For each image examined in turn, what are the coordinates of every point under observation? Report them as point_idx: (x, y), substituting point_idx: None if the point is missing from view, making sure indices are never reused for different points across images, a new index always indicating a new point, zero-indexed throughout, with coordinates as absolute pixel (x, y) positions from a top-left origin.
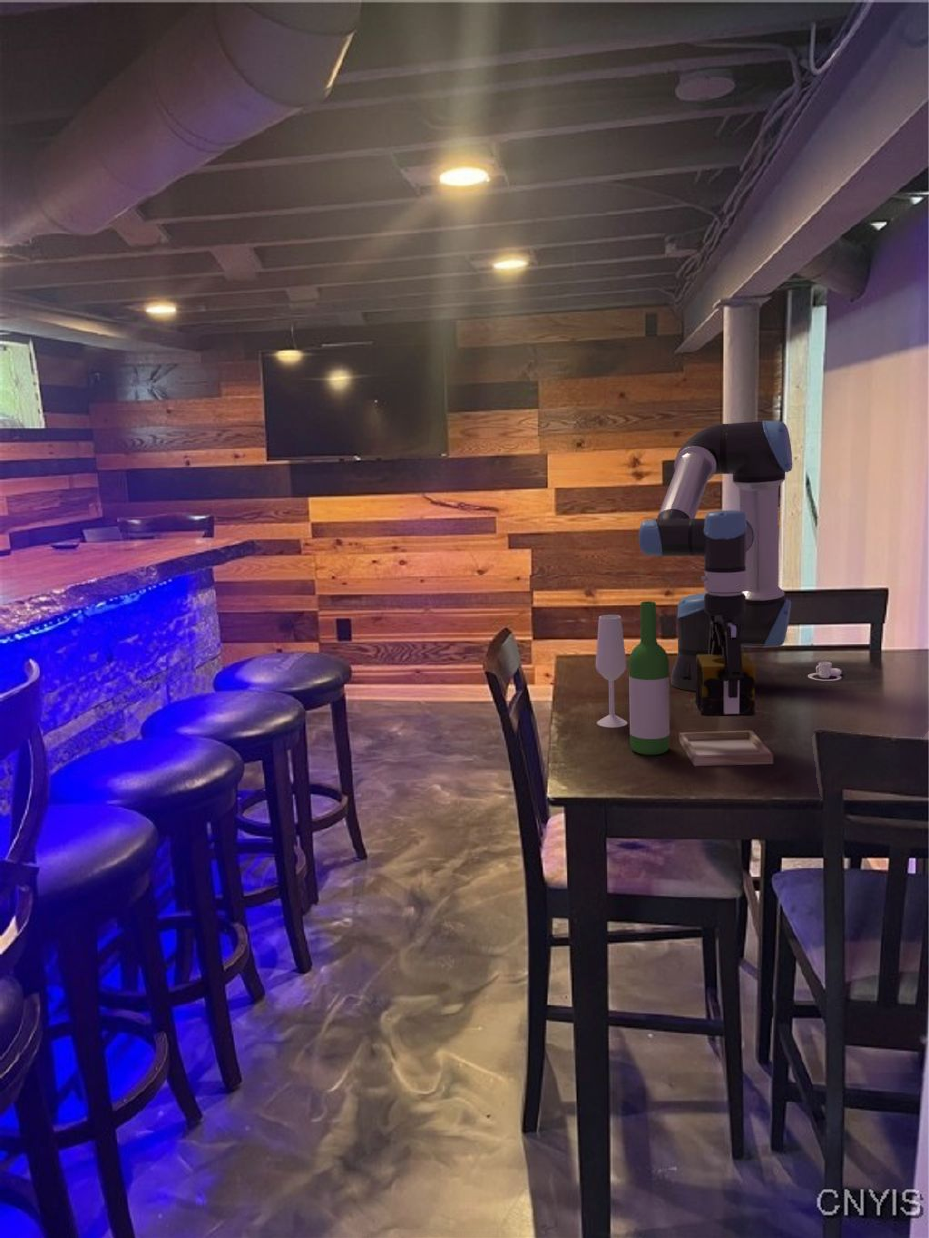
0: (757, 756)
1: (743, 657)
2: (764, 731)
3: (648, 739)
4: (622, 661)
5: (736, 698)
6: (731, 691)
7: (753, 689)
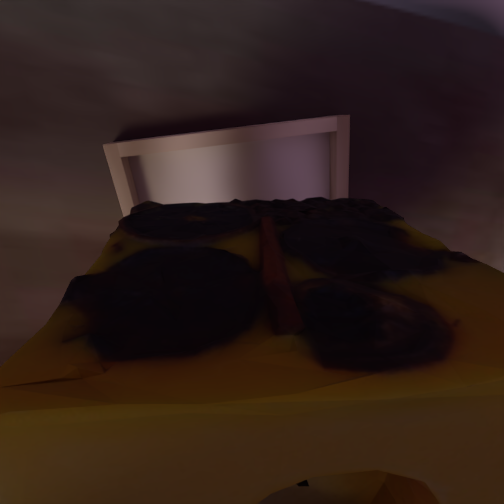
0: (347, 163)
1: (175, 457)
2: (11, 80)
3: None
4: None
5: None
6: None
7: (444, 251)
